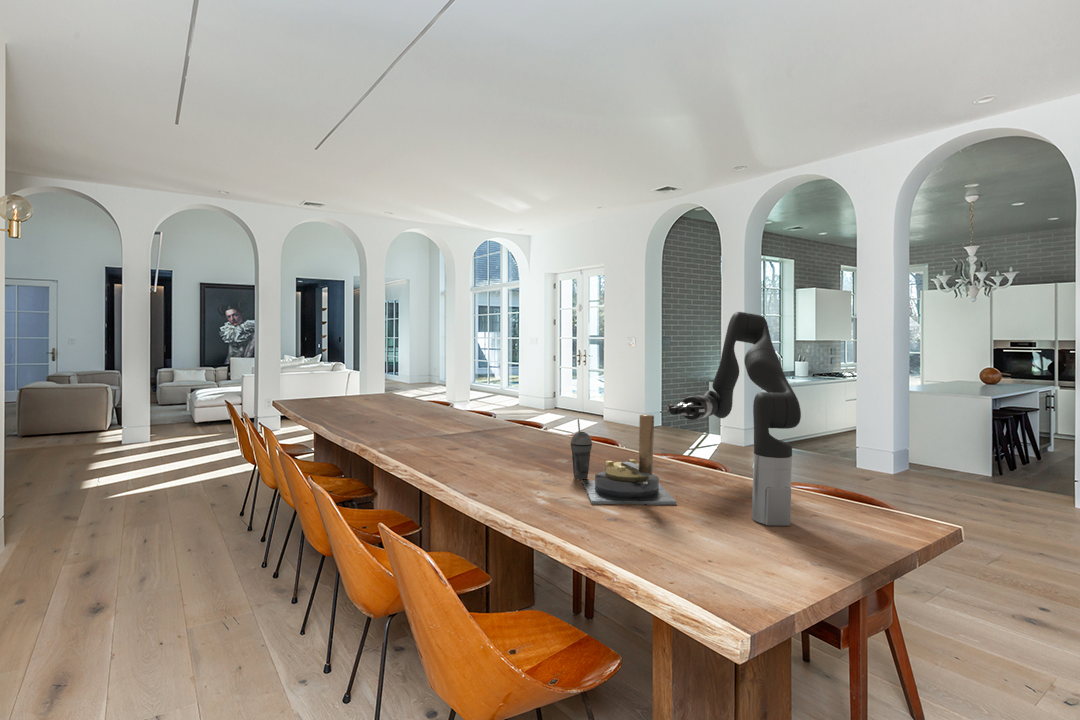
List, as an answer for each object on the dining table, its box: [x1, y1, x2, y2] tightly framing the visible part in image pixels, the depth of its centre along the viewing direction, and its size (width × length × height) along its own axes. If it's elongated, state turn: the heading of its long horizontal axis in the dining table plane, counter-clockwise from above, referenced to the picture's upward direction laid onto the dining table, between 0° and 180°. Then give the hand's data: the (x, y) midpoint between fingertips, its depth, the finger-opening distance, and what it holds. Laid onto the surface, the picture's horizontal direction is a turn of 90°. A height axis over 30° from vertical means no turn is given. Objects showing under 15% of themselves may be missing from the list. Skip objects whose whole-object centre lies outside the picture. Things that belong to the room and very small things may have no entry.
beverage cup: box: [570, 418, 593, 481], centre depth 196 cm, size 7×7×20 cm
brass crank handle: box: [604, 414, 655, 482], centre depth 174 cm, size 20×13×20 cm, turn 20°
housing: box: [582, 470, 677, 506], centre depth 178 cm, size 24×24×5 cm
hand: (673, 411), depth 178 cm, fingers closed
